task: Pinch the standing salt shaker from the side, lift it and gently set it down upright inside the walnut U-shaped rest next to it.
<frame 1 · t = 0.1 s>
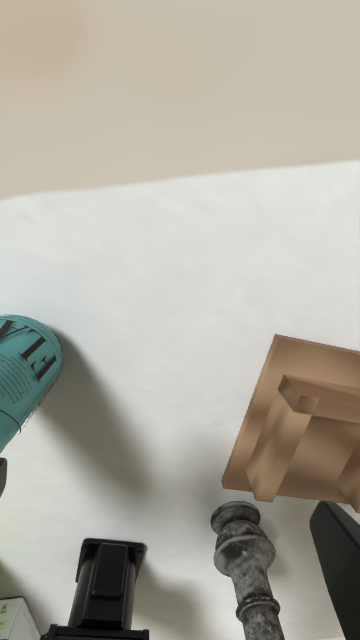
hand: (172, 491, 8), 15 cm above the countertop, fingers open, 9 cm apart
beverage bottle: (30, 344, 22), on the countertop
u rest: (316, 426, 26), on the countertop
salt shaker: (234, 517, 29), on the countertop
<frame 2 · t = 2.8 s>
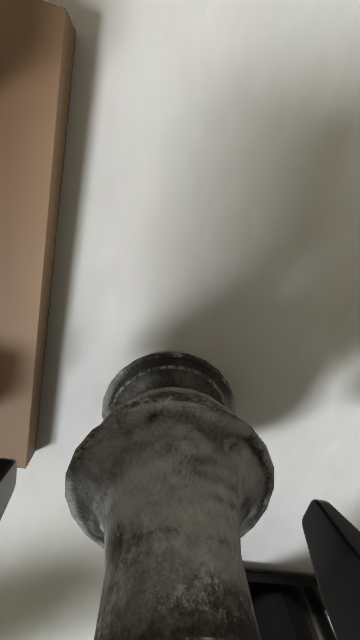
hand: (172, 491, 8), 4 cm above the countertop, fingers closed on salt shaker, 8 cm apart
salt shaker: (169, 408, 11), on the countertop, touching gripper
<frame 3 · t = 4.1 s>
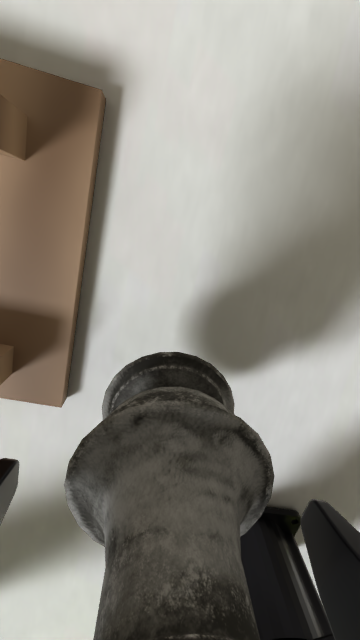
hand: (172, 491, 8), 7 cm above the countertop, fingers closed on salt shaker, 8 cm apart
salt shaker: (168, 408, 11), point 4 cm above the countertop, touching gripper
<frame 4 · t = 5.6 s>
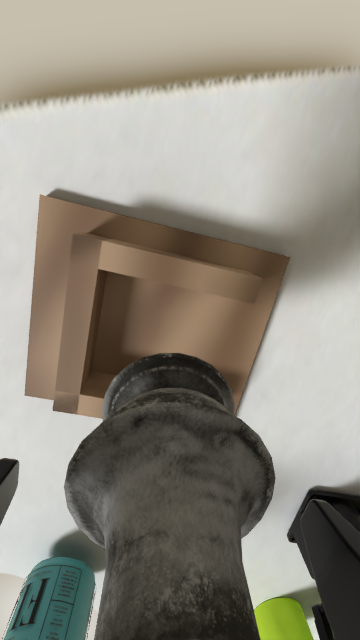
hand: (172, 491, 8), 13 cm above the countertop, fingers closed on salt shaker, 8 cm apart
soap dispenser: (272, 611, 32), on the countertop
beverage bottle: (69, 558, 28), on the countertop
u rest: (150, 326, 20), on the countertop
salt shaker: (169, 409, 11), point 9 cm above the countertop, touching gripper
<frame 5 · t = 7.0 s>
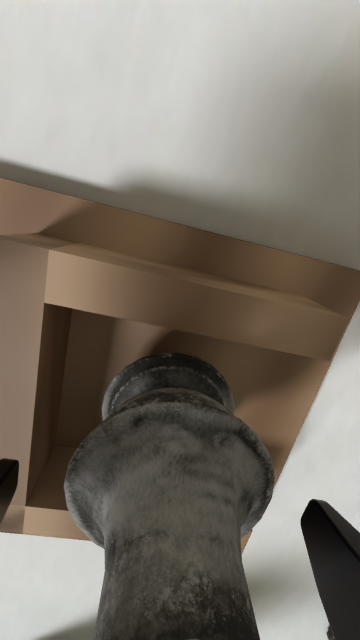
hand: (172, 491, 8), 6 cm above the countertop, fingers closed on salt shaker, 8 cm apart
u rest: (145, 376, 13), on the countertop
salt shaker: (168, 408, 11), point 2 cm above the countertop, touching gripper
when the fingers open (6 cm above the countertop, at t = 8.3 s): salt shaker drops 1 cm, resting on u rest.
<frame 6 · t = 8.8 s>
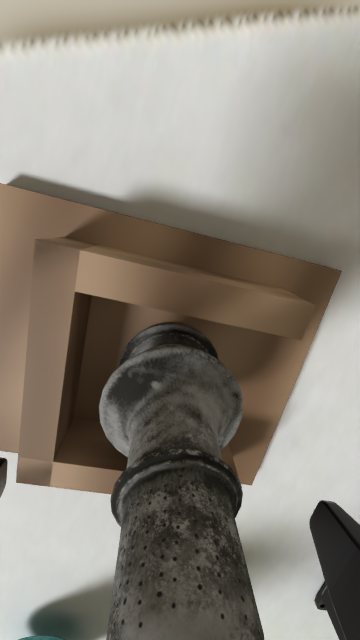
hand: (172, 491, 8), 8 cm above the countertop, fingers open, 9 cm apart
beverage bottle: (51, 628, 23), on the countertop
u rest: (151, 359, 15), on the countertop
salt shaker: (169, 368, 15), point 1 cm above the countertop, touching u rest
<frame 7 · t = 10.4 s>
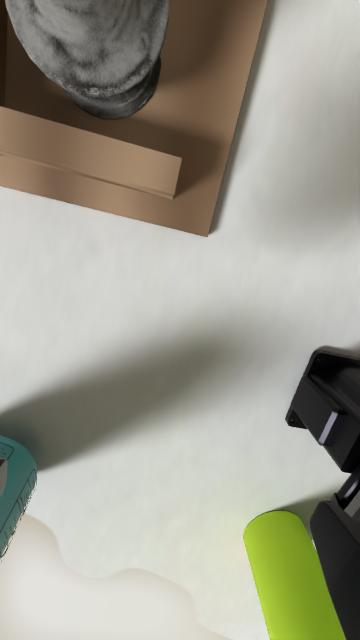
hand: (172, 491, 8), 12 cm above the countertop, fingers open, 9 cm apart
soap dispenser: (267, 531, 27), on the countertop
beverage bottle: (7, 450, 21), on the countertop
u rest: (89, 58, 14), on the countertop
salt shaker: (107, 57, 13), point 1 cm above the countertop, touching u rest
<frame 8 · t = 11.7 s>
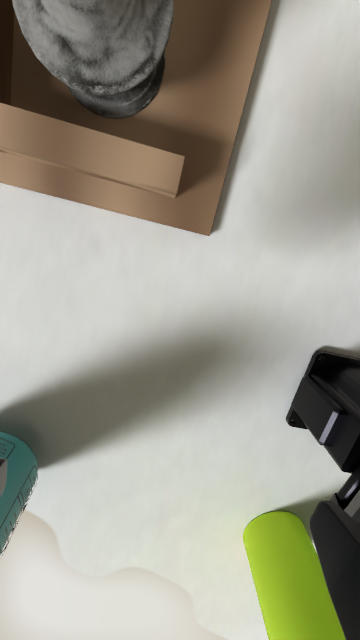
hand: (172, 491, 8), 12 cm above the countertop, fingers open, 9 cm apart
soap dispenser: (267, 532, 27), on the countertop
beverage bottle: (8, 446, 22), on the countertop
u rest: (93, 57, 14), on the countertop
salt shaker: (112, 57, 14), point 1 cm above the countertop, touching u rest
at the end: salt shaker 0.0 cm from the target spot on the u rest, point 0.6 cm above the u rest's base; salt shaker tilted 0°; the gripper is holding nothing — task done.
